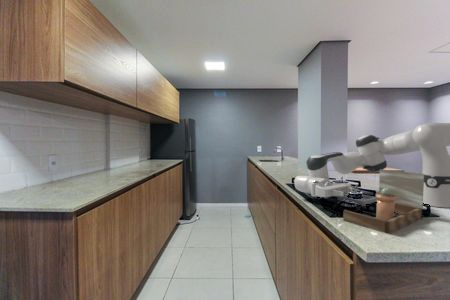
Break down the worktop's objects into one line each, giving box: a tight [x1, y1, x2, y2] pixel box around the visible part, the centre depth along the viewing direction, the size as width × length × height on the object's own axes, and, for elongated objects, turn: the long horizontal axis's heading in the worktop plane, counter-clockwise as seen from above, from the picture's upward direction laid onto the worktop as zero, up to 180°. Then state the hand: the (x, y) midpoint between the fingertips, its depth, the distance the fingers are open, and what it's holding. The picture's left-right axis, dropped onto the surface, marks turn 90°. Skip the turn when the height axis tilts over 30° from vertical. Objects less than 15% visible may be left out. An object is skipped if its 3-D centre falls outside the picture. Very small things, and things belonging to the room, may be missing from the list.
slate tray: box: [337, 193, 377, 207], centre depth 127 cm, size 13×13×2 cm
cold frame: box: [342, 169, 424, 235], centre depth 100 cm, size 29×16×18 cm, turn 124°
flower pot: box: [375, 188, 396, 221], centre depth 100 cm, size 7×7×13 cm
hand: (350, 192), depth 111 cm, fingers open, 8 cm apart
